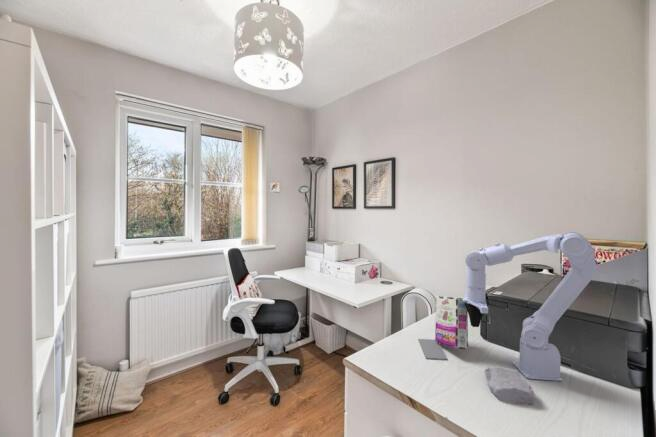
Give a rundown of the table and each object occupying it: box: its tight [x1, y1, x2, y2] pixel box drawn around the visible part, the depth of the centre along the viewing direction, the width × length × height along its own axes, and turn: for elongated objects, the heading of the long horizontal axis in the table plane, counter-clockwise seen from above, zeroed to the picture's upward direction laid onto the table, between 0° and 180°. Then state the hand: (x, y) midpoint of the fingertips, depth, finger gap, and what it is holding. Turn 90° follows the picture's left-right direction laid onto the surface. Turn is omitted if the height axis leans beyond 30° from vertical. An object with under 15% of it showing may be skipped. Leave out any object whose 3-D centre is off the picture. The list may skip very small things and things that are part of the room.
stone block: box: [483, 366, 535, 406], centre depth 77 cm, size 12×5×10 cm
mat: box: [417, 338, 449, 361], centre depth 98 cm, size 7×13×1 cm, turn 172°
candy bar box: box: [434, 295, 469, 350], centre depth 99 cm, size 11×5×16 cm, turn 18°
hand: (474, 326), depth 93 cm, fingers closed
